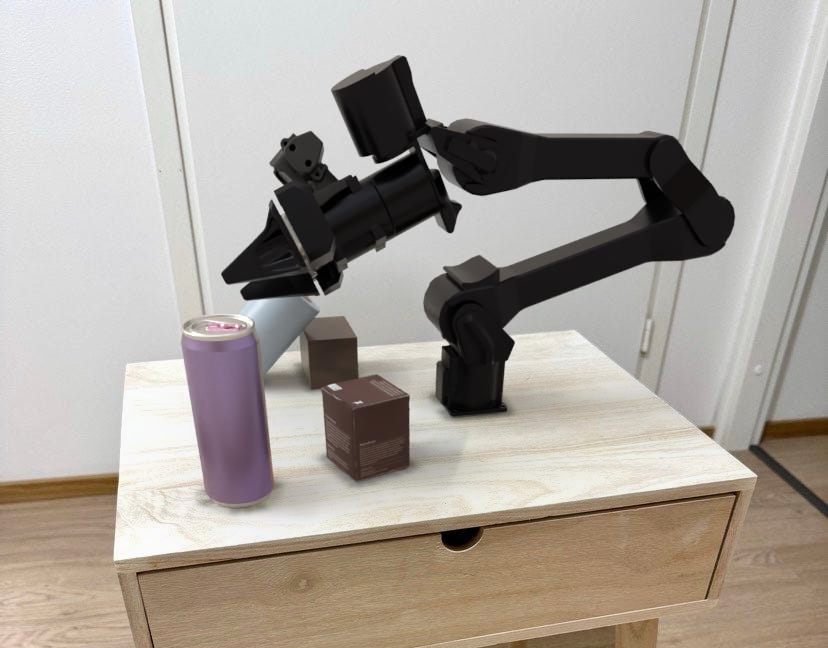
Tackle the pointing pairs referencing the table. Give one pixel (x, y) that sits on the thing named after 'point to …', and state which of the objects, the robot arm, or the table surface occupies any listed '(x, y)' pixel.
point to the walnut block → (329, 351)
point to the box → (367, 426)
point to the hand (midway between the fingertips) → (233, 288)
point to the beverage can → (229, 407)
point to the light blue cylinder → (279, 324)
